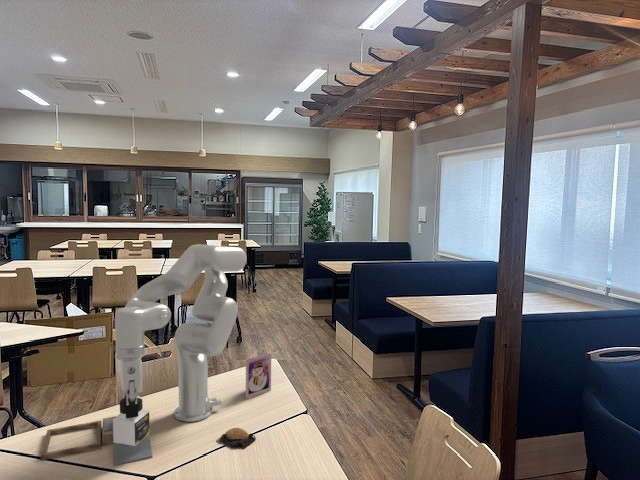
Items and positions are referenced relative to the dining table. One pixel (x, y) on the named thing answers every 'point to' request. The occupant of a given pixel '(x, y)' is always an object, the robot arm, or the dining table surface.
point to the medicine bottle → (130, 425)
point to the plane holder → (106, 439)
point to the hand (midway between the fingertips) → (131, 411)
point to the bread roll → (236, 438)
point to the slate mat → (132, 452)
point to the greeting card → (258, 374)
